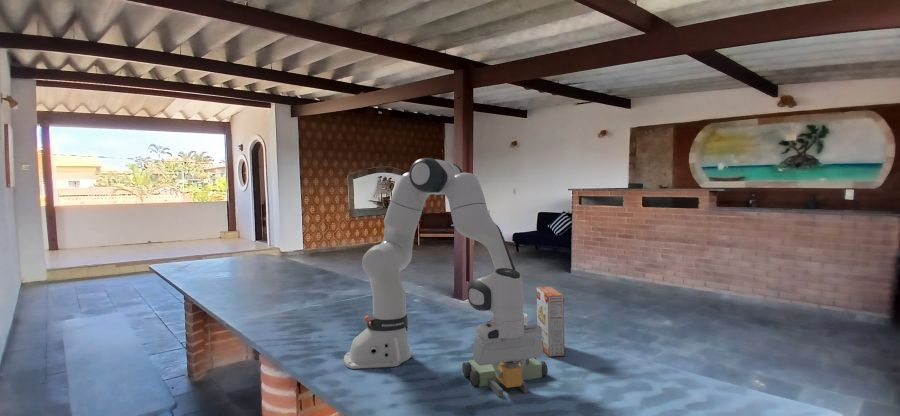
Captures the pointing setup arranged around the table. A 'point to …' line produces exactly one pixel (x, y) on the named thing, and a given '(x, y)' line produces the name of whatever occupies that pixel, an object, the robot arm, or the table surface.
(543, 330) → the cracker box
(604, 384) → the table surface
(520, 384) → the orange block grey plate
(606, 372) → the table surface
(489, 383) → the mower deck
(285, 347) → the table surface
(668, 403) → the table surface
